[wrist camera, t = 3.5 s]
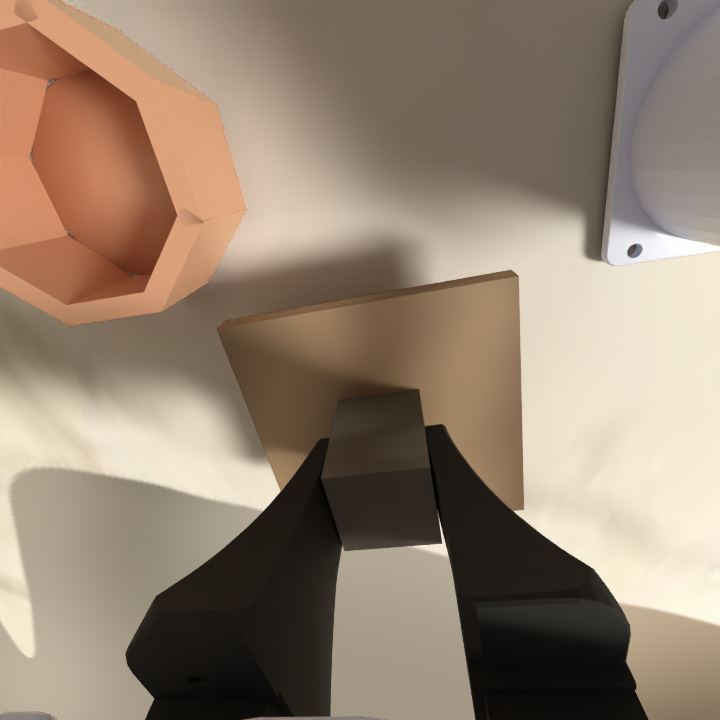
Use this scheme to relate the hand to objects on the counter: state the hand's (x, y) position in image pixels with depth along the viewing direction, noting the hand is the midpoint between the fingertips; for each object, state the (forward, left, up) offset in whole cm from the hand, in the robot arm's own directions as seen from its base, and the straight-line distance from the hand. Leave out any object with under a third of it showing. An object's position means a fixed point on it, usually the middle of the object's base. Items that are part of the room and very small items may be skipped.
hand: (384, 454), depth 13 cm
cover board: (0, 0, -2) cm, 2 cm away
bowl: (+8, -10, -5) cm, 14 cm away
